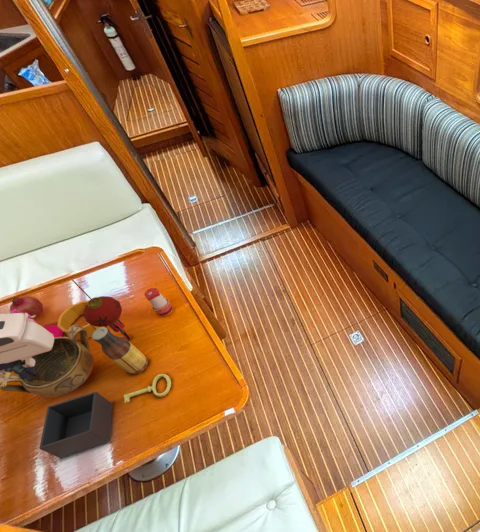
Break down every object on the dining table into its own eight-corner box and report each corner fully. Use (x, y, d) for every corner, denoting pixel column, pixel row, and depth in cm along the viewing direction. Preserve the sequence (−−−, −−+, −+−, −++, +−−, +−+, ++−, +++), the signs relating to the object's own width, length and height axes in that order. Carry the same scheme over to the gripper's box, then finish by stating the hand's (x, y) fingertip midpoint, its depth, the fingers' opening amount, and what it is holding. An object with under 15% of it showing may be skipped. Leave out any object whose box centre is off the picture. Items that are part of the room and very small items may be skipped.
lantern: (144, 321, 133) (92, 262, 110) (145, 344, 127) (91, 286, 105) (113, 332, 130) (53, 273, 108) (113, 355, 124) (50, 298, 102)
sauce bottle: (148, 354, 125) (114, 318, 110) (149, 370, 121) (115, 336, 106) (125, 362, 123) (88, 328, 108) (126, 379, 119) (87, 345, 104)
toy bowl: (64, 345, 127) (54, 337, 123) (70, 314, 134) (61, 306, 131) (106, 333, 130) (98, 325, 126) (110, 304, 137) (102, 295, 134)
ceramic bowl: (94, 337, 129) (65, 311, 117) (123, 364, 122) (96, 339, 111) (20, 391, 116) (-21, 367, 105) (48, 424, 110) (8, 403, 99)
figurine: (38, 356, 124) (3, 330, 113) (23, 341, 127) (-13, 315, 116) (69, 333, 130) (38, 307, 118) (54, 320, 133) (22, 293, 122)
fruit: (51, 318, 134) (30, 300, 126) (22, 330, 130) (0, 313, 123) (47, 302, 138) (27, 284, 130) (20, 314, 134) (-2, 296, 127)
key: (124, 398, 115) (120, 395, 113) (166, 372, 121) (163, 369, 119) (133, 416, 112) (129, 414, 110) (176, 388, 117) (173, 385, 116)
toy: (171, 301, 138) (151, 274, 127) (178, 316, 134) (158, 288, 123) (155, 309, 136) (133, 282, 125) (162, 324, 132) (140, 297, 121)
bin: (61, 458, 104) (39, 448, 98) (67, 418, 111) (47, 406, 105) (109, 442, 107) (91, 431, 101) (112, 403, 114) (95, 391, 108)
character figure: (44, 359, 99) (8, 333, 90) (57, 363, 98) (21, 338, 89) (10, 392, 93) (-32, 369, 84) (24, 397, 92) (-18, 374, 83)
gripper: (-97, 367, 77) (-39, 396, 87) (24, 333, 82) (66, 365, 92) (-85, 340, 81) (-30, 371, 91) (31, 310, 86) (70, 343, 96)
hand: (19, 368), depth 92 cm, fingers closed on character figure, 3 cm apart
